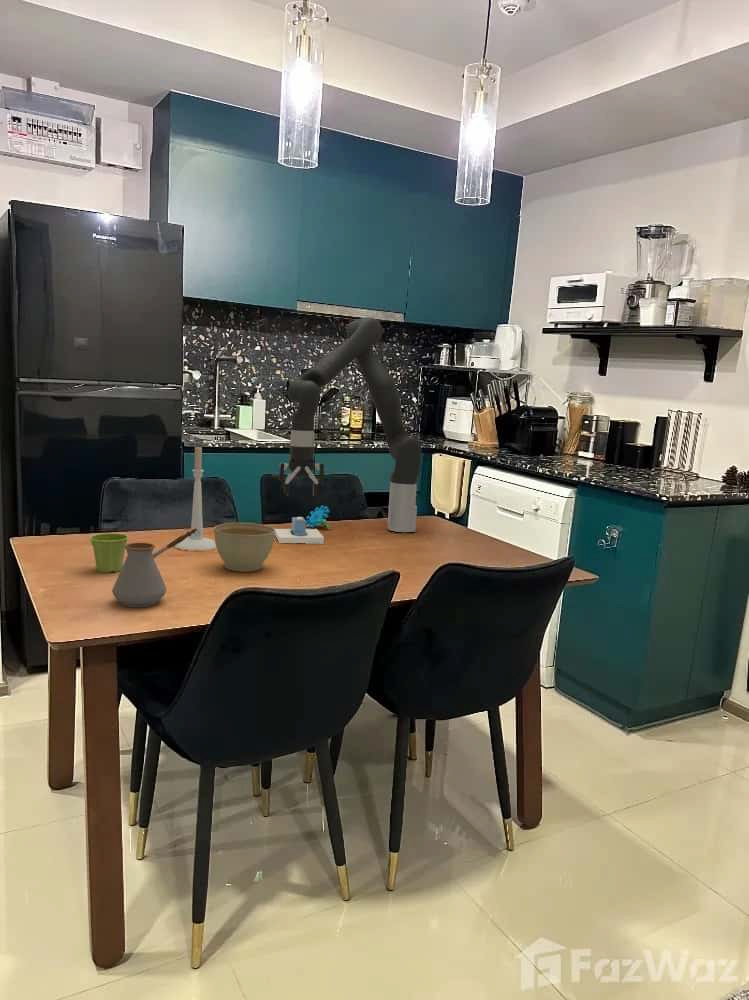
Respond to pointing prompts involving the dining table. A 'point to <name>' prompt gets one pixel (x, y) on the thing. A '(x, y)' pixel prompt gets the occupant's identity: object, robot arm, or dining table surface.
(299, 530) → the servo
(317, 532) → the chassis board
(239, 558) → the planter bowl
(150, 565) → the coffee pot
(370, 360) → the robot arm
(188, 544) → the candlestick
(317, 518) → the blue coral
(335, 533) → the dining table surface
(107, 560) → the plant pot
